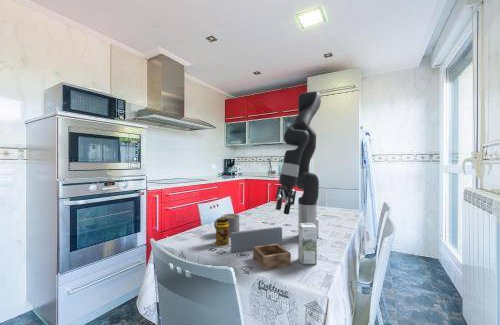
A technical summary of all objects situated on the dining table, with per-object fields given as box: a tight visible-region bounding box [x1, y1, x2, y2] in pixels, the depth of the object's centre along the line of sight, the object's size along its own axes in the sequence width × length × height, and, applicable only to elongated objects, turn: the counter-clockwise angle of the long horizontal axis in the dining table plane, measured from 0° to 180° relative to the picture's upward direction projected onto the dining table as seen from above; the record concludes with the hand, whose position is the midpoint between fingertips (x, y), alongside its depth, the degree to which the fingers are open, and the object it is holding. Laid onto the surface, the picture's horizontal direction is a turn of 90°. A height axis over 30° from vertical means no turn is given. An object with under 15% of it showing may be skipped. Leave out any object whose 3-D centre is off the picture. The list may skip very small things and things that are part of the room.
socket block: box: [252, 243, 292, 271], centre depth 87 cm, size 11×11×4 cm
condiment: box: [210, 217, 231, 248], centre depth 107 cm, size 7×8×12 cm
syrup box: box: [297, 223, 318, 266], centre depth 87 cm, size 6×6×14 cm
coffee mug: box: [213, 213, 240, 238], centre depth 121 cm, size 13×10×10 cm
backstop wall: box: [230, 226, 283, 253], centre depth 101 cm, size 24×2×8 cm, turn 110°
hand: (281, 211), depth 96 cm, fingers open, 8 cm apart
